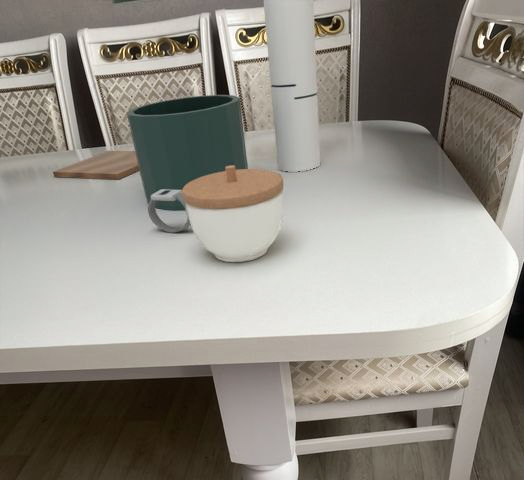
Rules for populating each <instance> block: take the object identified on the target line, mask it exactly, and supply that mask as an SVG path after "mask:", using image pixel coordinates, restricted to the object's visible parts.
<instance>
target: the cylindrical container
mask: <svg viewBox="0 0 524 480" xmlns="http://www.w3.org/2000/svg"><path fill="white" fill-rule="evenodd" d="M314 5H315V3H314V0H263V10H264V11H263V12H264V21H265V22H264V23H265V24H264V25H265V33H266V45H267V57H268V69H269V70H268V71H269V80H270V93H271V105H272V115H273V116H272V117H273V127H274V140H275V152H276V163H277V170H279V171H281V170H282V171H281V172H285V171H288V172H287V173H299V172H298V171H300V172H307V171H311V170H314V169H313V168H315V169H316V167H317V168H319V167H320V166H321V149H320V148H321V146H320V125H319V121H320V120H319V101H318V77H317V76H318V75H317V52H316V51H317V49H316V31H315V6H314ZM318 166H319V167H318ZM310 169H311V170H310ZM306 170H307V171H306Z"/></svg>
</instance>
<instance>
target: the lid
mask: <svg viewBox="0 0 524 480" xmlns="http://www.w3.org/2000/svg"><path fill="white" fill-rule="evenodd" d="M94 1H95V2H108V1H110V2H111V5H114V6H118V5H131V4H142V3H143V4H144V3H150V2H160V1H162V0H94Z"/></svg>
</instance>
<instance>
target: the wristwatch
mask: <svg viewBox="0 0 524 480" xmlns="http://www.w3.org/2000/svg"><path fill="white" fill-rule="evenodd" d="M176 199H177V200H179V201H180V202H181V204H182V205H183V206H184V208H185V210H184V211H185V213H186V216H187V218H186V223H185V224H184V225H183V226H179V227H178V226H177V227H174V226H171V225H168V224H167V223H165V221H163V220H162V219H161V218H160V216H159V215H158V213H157V211H156V208H155V203H156V200H160V201H175V200H176ZM147 214H148V217H149V218H150V221H152V223H153V225H155V226H156V227H157V228H158V229H160V230H162V231H164V232H166V233H172V234H173V233H175V234H176V233H179V232H182V231H184V230H185V229H187V228H189V226H190V227H191V224H190V221H189V218H188V214H187V210H186V204H185V201H184V199H183V195H182V190H169V189H161V190H159V191H158V192H156V193H154V194H152V195H151V199H150V201H149V204H148V206H147Z"/></svg>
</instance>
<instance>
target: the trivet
mask: <svg viewBox="0 0 524 480" xmlns="http://www.w3.org/2000/svg"><path fill="white" fill-rule="evenodd" d="M137 172H140V170H139V166H138V162H137V157H136V153H135V150H106V151H103V152H101V153H99V154H96V155H93V156H91V157H88V158H85V159H83V160H80V161H77V162H75V163H72V164H69V165H67V166H64V167H62V168H59V169H56V170H53V171H52V174H53V177H54V178H66V177H76V178H75V179H93V180H94V179H95V180H97V179H98V180H116V181H117V180H121V179H123V178H126V177H129V176H130V175H132V174H134V173H137Z"/></svg>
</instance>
